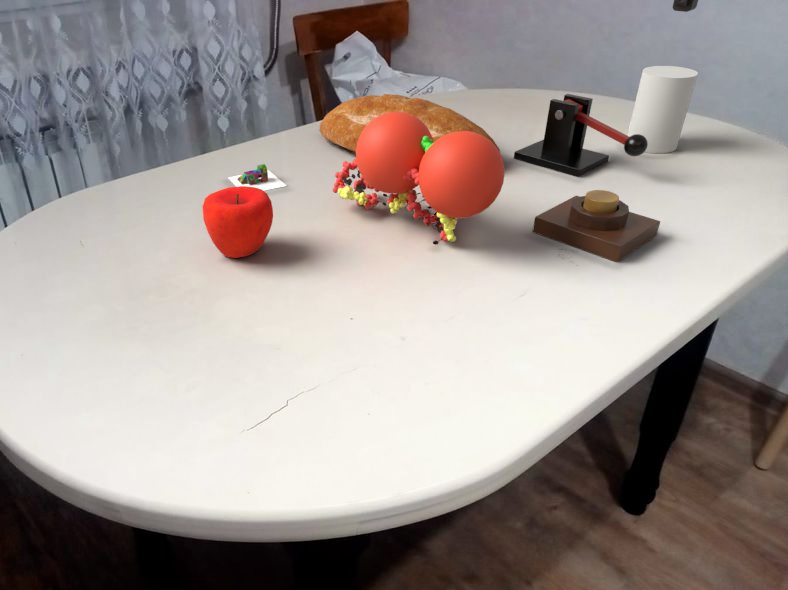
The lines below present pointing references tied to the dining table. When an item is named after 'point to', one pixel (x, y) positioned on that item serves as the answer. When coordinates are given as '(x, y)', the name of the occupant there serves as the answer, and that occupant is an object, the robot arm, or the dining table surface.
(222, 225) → the apple
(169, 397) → the dining table surface
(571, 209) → the push button box
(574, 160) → the lever base
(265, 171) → the white tray with figurine
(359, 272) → the dining table surface
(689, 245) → the dining table surface
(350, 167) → the molecule
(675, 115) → the cup
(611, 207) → the bell button
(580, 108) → the red lever
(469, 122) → the bread
